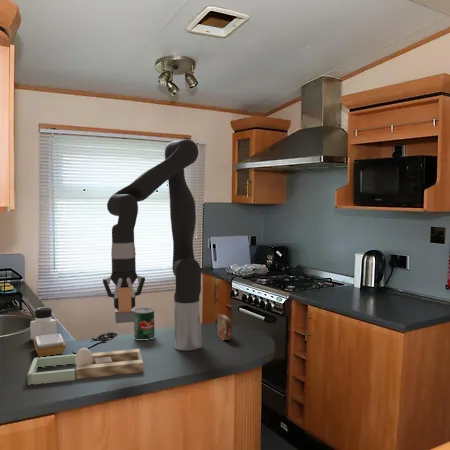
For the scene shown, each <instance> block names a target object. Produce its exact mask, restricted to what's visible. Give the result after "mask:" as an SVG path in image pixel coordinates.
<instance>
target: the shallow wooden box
mask: <svg viewBox="0 0 450 450" xmlns="http://www.w3.org/2000/svg"><path fill="white" fill-rule="evenodd" d="M91 354H92V359H93V360H92V364H91V365H82V366H76V369H75V373H76V380H80V379H81V380H83V379H89V378H90V379H91V378H100V377H108V376H118V375H129V374H136V373H144V361H143V357H142V354H141V350H140V348H134V349H132V348H131V349H123V350H112V351H103V352H102V351H101V352H91ZM102 357H111V359H112V363H102V364H95V358H102Z"/></svg>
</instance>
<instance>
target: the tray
mask: <svg viewBox="0 0 450 450" xmlns="http://www.w3.org/2000/svg"><path fill="white" fill-rule="evenodd" d="M76 354H77V353H76ZM76 354H72V353H71V354H65V355H64V354H62V355H54V356H46V357H40V358H39V357H33V360H32V362H31V365H30V368H29V369H28V372H27V378H26V379H27V386H31V384H33V385H40V384H42V383H43V384H50V383H59V382H68V381H75V380H76V369H75V368H72V369H71V368H69V369H61V370H51V371H50V370H49V371H41V372H36V371H38V369H39V368H38V367H42V368H46V367H45V366H53V367H57V366H56V365H63V366H67V365H66V364H73V365H76V364H75V357H76ZM37 368H38V369H37Z"/></svg>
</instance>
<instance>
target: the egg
mask: <svg viewBox="0 0 450 450" xmlns="http://www.w3.org/2000/svg"><path fill="white" fill-rule="evenodd" d="M91 353H92V352H91V350H90V348H89V349H88V348H85V347H83V348H81V349H79V351H78V352H77V353H76V357H75V363H76V364H75V367H77V366H82V365H91V364H92V360H93V359H92V354H91Z"/></svg>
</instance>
